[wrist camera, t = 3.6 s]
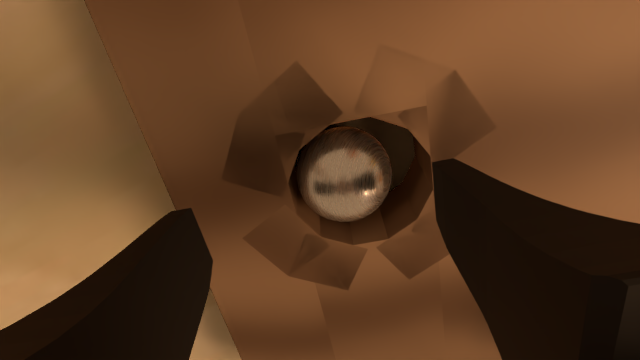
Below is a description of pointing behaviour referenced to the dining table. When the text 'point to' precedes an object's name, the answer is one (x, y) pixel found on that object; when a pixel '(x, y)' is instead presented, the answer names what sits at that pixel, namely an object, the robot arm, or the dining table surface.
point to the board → (387, 105)
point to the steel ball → (344, 174)
